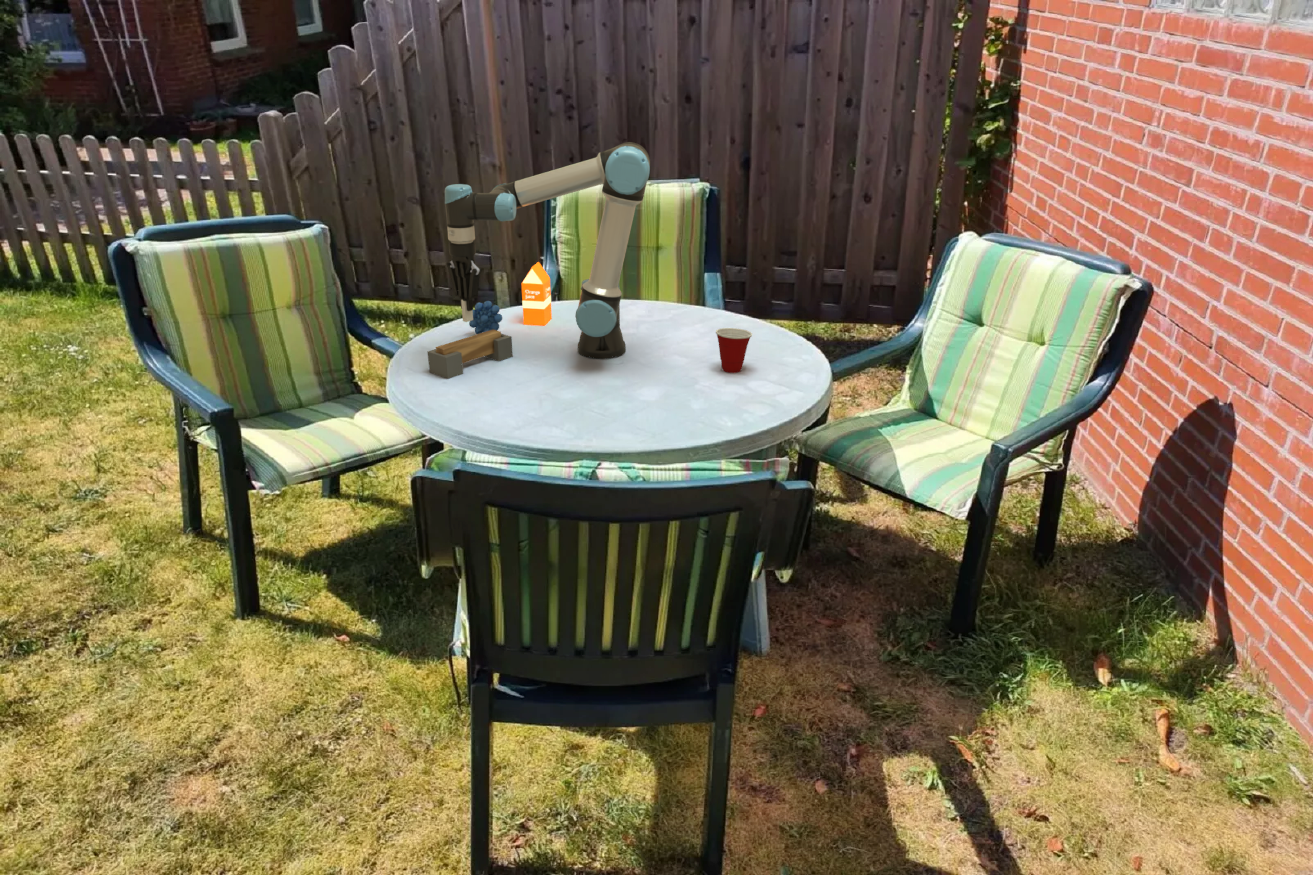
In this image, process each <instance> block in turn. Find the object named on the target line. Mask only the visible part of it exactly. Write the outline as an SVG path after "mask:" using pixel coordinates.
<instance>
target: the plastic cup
mask: <svg viewBox="0 0 1313 875" xmlns="http://www.w3.org/2000/svg"><path fill="white" fill-rule="evenodd" d="M715 334H716V336H717V342H718V349H719V357H720V358H719V359H720V363H721V368H722V371H723V372H725V373H728V374H729V373H730V374H736V373H739V372H741V371H742V369H743V364H744V361H745V357H746V354H747V348H748V345H749V342H750V339H751V338H752V336H753V333H752V332H751V331H748V330H746V329H741V328H737V327H736V328H734V327H723V328H718V329H716V330H715Z"/></svg>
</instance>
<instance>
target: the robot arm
mask: <svg viewBox="0 0 1313 875" xmlns="http://www.w3.org/2000/svg"><path fill="white" fill-rule="evenodd" d="M650 170H651V159H650V156H649V153H648V152H647V150H646V149H645V148H644V147H643V145H640V144H638V143H637V142H636V143H635V142H631V141H628V142H623V143H621V144H618V145H616V146H615V147H612V148H609V149H606V150H604V151H600V152H598V154H597V156H596V157H592V158H590V159H587V160H582V161H580V162H576V163H573V164H570V165H566V166H563V167H560V168H556V169H552V170H550V171H549V170H548V171H546V172H542V173H539V174H535V175H533V176H529V177H525V178H522V179H521V178H520V179H518V180H515V181H512V182H509V183H501V184H498V185H495V187H493V189H492V190H491V191H490V192H473V189H472V186H470V185H469V184H464V183H458V184H457V183H456V184H450V185H447V186H446V187H445V188H444V206H445V207H444V208H445V215H446V217H445V218H446V227H447V239H448V241H449V242H448V251H449V252H448V253H449V255H450V256H451V261H448V262H446V264H445V265H446V267H447V268H448V271H449V276H450V280H451V284H452V285H451V286H452V288H453V292H454V295H455V296H457V297H458V299H460V309H461V314H462V322H464V323H467V322H470V321H472V320H473V310H474V302H473V300H475V299H477V298H478V295H479V286H480V277H481V273H482V269H483V268H481V267H480V266H479V267H478V266H477V265H476V261H475V258H474V256H475V255H476V253H477V249H476V246H477V245H476V241H475V240H476V233H475V221H492V222H493V221H496V222H497V221H498V222H506V221H507V222H508V221H509V222H510V221H514V220H515V219H516V217H517V216H516V215H517V210H518V209H521V208H523V207H526V206H532V205H533V204H537V203H541V202H544V201H547V200H552V199H555V198H559V197H561V196H565V195H569V194H572V193H576V192H579V191H584V190H586V189H590V188H594V187H596V186H600V185H602V190H601V193H602V194H603V196H604V198H605V200H604V205H603V212H602V216H601V221H600V226H599V230H598V234H597V235H598V236H597V240H596V245H595V249H594V253H593V254H594V255H593V261H592V265H591V269H590V275H589V278H587V279H584V280H582V282H581V287H580V290H581V292H580V295H579V301H578V306H577V309H576V310H575V322H576V325H577V326H578V328H579V330H580V331H581V332H580V336H579V339H578V342H577V353H578V355H579V356H581V357H585V358H588V359H595V360H608V359H614V358H619V357H621V356H623V355H624V354H626V352H627V351H626V350H627V349H626V347H627V346H626V344H627V343H626V342H625V340H624V336H623V333H622V330H621V320H620V318H621V315H620V314H621V311H620V308H621V306H620V303H621V300H622V291H621V288H620V279H621V275H622V271H623V270H622V269H623V266H624V261H625V257H626V253H627V248H628V244H629V239H630V234H631V229H632V225H633V222H634V221H633V220H634V216H635V212H636V207H637V205H639V204H641V203H642V202H643V201H644V196H645V191H646V188H647V183H648V181H649V177H650V172H651V171H650Z"/></svg>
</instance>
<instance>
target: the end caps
mask: <svg viewBox="0 0 1313 875" xmlns="http://www.w3.org/2000/svg"><path fill="white" fill-rule="evenodd" d="M512 340H513V339H512V336H511V335H507V334H504V333H501V338H497V339H494V353H492V354H489V355H486V356H485V358H488V359H490V360H493V359H494V360H493V361H496V362H501V360H502V361H503V360H507V359H510V358H513V356H514V355H513V341H512ZM427 359H428V368H429V369H428V371H429V373H431V374H434V375H436V376H439V377H442V378H444V379H448V380H449V379H451V378H454V377H457V376H461V375H464V367H463V363H462V354H461V352H458V351H457V352H454V353H450V354H447V355H442V354H439V353H436V348H433V349H430V350H428V351H427Z"/></svg>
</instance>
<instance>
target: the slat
mask: <svg viewBox="0 0 1313 875" xmlns="http://www.w3.org/2000/svg"><path fill="white" fill-rule="evenodd" d="M501 334H502V331H500V330H490V331H486V332H482V333H480V334H474V335H470V336H467V337H465V338H460V339H458V340H455V341H451V342H448V343H445V344H440V345H438V346H435V349H436V353H439V354H442V355H447V354H450V353H454V352H457V351H458V352H461V354H462V364H465V363H468V362H471V361H474V360H477V359H480V358H483V357H484V356H486V355H489V354H492V353H494V339H497V338H501Z"/></svg>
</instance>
